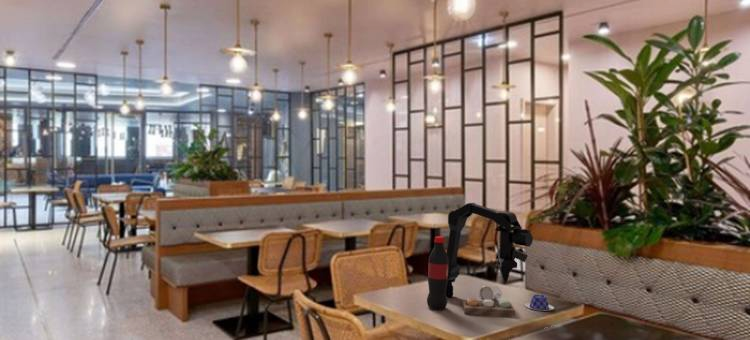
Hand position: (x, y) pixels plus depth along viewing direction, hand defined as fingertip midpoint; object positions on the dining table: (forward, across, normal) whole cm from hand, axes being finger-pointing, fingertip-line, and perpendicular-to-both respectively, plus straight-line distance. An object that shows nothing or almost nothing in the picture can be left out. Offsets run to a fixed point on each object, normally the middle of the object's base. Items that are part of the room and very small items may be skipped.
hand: (504, 280), depth 220 cm
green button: (+12, 0, 0) cm, 12 cm away
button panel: (+13, 0, +6) cm, 15 cm away
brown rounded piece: (+12, 0, +13) cm, 17 cm away
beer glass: (+10, +19, +1) cm, 21 cm away
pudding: (+14, +10, -16) cm, 24 cm away
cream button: (+12, 0, +7) cm, 13 cm away
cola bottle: (+13, 0, +28) cm, 31 cm away
